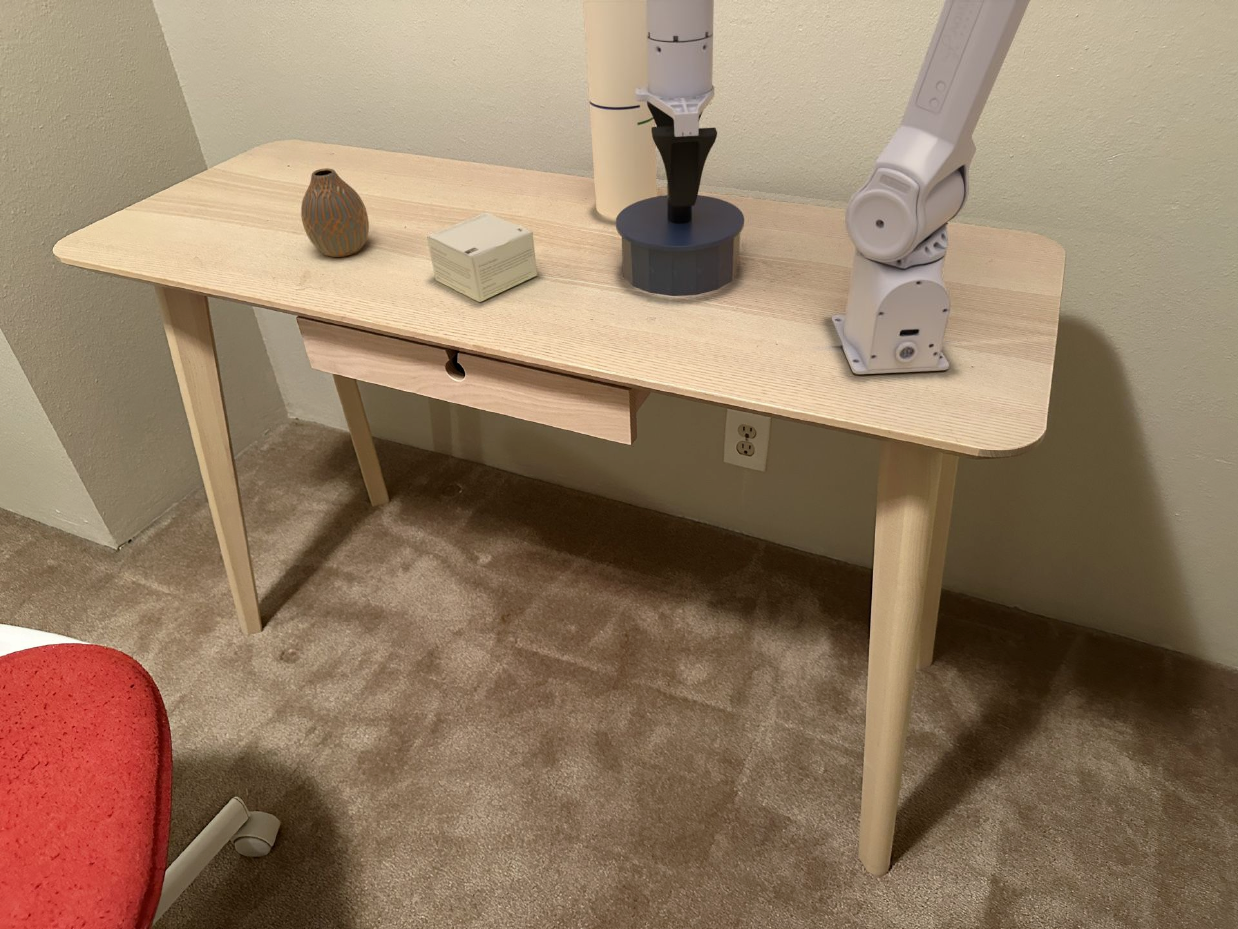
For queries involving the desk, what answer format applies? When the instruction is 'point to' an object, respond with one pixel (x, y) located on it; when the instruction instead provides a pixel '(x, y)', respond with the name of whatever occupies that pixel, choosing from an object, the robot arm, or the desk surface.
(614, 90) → the cylindrical container
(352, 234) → the vase
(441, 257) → the small box
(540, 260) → the desk surface
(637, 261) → the tin
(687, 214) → the tin lid
